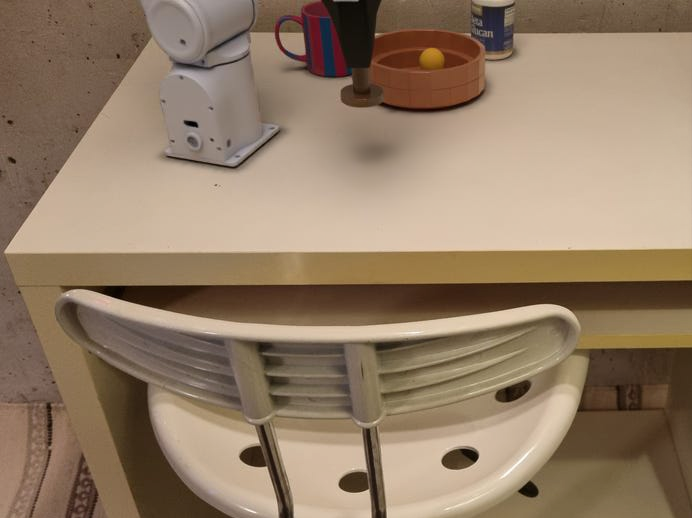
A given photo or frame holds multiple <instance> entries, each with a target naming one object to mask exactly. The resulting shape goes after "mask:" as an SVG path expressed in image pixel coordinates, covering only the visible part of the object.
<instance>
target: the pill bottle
mask: <svg viewBox="0 0 692 518" xmlns="http://www.w3.org/2000/svg"><path fill="white" fill-rule="evenodd" d="M515 9H516V0H470V36H471V37H473V38H475V39H477V40H479V41H480V42H481V43H482V44H483V45H484V46H485V60H491V61H493V60H495V61H496V60H503V59H506V58H508V57H510V56H511V55H512V54H513V50H514V31H515V11H516V10H515Z"/></svg>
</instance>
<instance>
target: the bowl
mask: <svg viewBox="0 0 692 518" xmlns="http://www.w3.org/2000/svg"><path fill="white" fill-rule="evenodd" d="M428 48H435V49H438V50H439V51H440V52H441V53H442V54H443V56H444V59H445V65H444V68H443V69H439V70H429V71H425V70H422V69H421V67H420V63H419V59H420V56H421V54H422V53H423V51H425V50H426V49H428ZM369 74H370V84H375V85H378V86H380V87H381V88H382V89H383V90H384V100H383V102H382V103H384V104H386V105H389V106H392V107H397V108H401V109H408V110H409V109H410V110H437V109H445V108H450V107H453V106H457V105H460V104H463V103H465V102H468V101H470V100H471V99H474V98H476V97H477V96H479V95H480V94H481V93H482V91H483V90H484V89H485V87H486V59H485V46H484V45H483V44H482V43H481V42H480V41H479V40H477V39H475V38H473V37H471V35H468V34H465V33H461V32H457V31H454V30H447V29H440V28H439V29H438V28H408V29H397V30H393V31H387V32H384V33H380V34H377V35H375V41H374V49H373V54H372V60H371V65H370V68H369Z"/></svg>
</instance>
